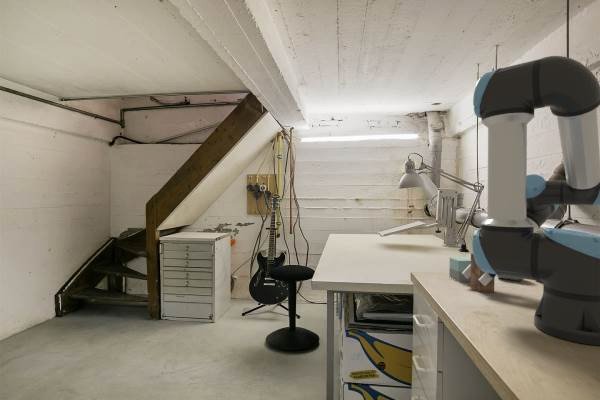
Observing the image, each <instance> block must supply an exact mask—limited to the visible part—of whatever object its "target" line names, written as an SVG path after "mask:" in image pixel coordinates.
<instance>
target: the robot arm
mask: <svg viewBox="0 0 600 400" xmlns="http://www.w3.org/2000/svg"><path fill="white" fill-rule="evenodd" d="M478 78H479V79H478V80H477V81H476V84H475V87H474V90H473V98H472V101H473V102H472V103H473V105H472V106H473V111H474V114H475V116H476V117H477V118H478V119H479V118H480V119H481V124H483V125H484V126H485V127H486V128H487V217H486V218H485V219H484V220H482V222H481V223H480V228H478V229H476V230H475V231H474V232H473V235H472V241H471V242H472V245H471V246H472V253H473V255H474V259H475V261H476V264H477V265H478V267H479V268H480V269H481V270H482V271H483V272H485V273H484V274H483V275H482V276H481V277H480V278H479V279H478V280H479V281H480V282H481V283H482V284H483V285H484V286H486V285H487V284H488V283H489V282H490V281H491V280H492V279H493V278H494V279H495V277H497V275H498V276H509V277H515V278H522V280H530V281H535V282H536V281H537V282H542V283H543V285H542V286H543V292H542V296H541V298H540V301H539V303H538V305H537V307H536V309H535V312H534V317H533V321H534V322H533V324H534V326H535V327H536V328H537V329H539V330H540V331H541V332H543V333H546V334H548V335H550V336H553V337H555V338H559V339H562V340H567V341H570V342H573V343H579V344H584V345H593V346H600V235H598V234H594V233H590V232H584V231H578V230H572V229H565V228H557V227H556V228H555V227H545V228H543V231H542V233H540V232H537V231H538V230H539V229H540V228H541V227H542V226H543V225H544V223H546V221H547V220H548V219H550V218H551V217H552V216H553V215H554V214H555V213H556V211H557V210H558V209H559V207H560V206H562V205H563V206H564V205H565V206H600V143H599V142H600V141H599V140H600V139H599V125H598V124H599V123H598V112H597V109H598V108H599V107H600V82H599V80H598V78H597V77H596V76H595V75H594V73H593V71H591V70H590V68H588V67H587V66H586V65H584V64H583V63H582V62H580V61H577V60H575V59H574V58H571V57H567V56H561V55H549V56H545V57H542V58H539V59H535V60H531V61H526V62H522V63H518V64H514V65H510V66H506V67H499V68H497V69H495V70H491V71H488V72H484V73H483V74H482V75H480V77H478ZM546 107H547V108H548V107H549V108H550V112H551V114H552V115H553V116H555V117H556V118H557V119H556V120H557V124H558V126H557V127H558V133H559V139H560V147H561V152H562V160H563V166H564V173H565V180H563V179H562V180H545V178H544V177H543V176H542V175H538V174H536V173H535V174H533V173H531V174H527V167H528V166H527V165H528V164H527V159H528V155H527V154H528V153H527V152H528V151H527V150H528V149H527V148H528V147H527V145H528V138H527V137H528V124H529V123H530V122H531V121H532V120H533V119H534V118H535V110H536V109H537V110H538V109H543V108H546ZM462 274H463V275H464V276H465V277H466V278H467V279H469V278H470V276H471V264H470V265H469V266H468V267H467V268H466V269H465V270H464V271H463V272H462Z"/></svg>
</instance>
